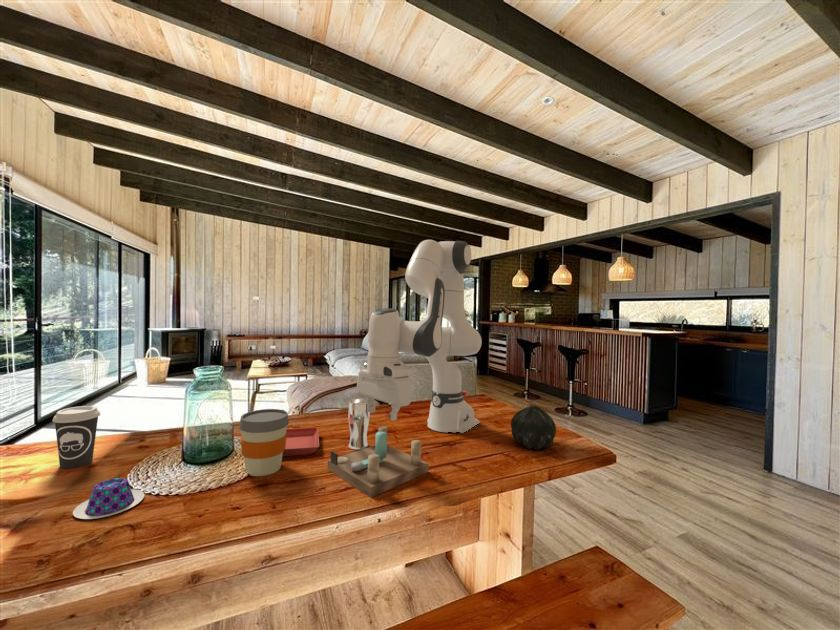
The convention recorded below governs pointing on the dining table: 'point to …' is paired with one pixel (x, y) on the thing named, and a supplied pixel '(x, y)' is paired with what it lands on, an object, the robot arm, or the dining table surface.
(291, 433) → the plant saucer
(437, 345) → the robot arm
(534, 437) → the squash
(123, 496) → the purple patterned hat
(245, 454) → the reusable coffee cup
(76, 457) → the coffee cup
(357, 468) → the folding leg
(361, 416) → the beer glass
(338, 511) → the dining table surface
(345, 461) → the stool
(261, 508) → the dining table surface
